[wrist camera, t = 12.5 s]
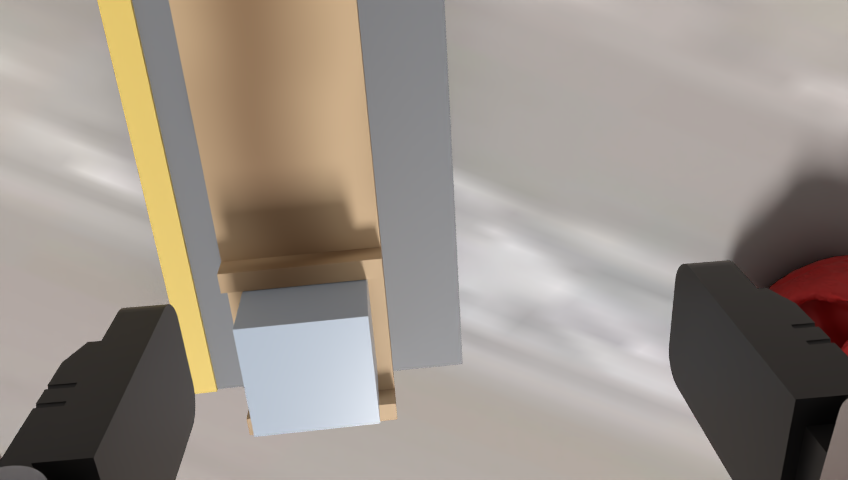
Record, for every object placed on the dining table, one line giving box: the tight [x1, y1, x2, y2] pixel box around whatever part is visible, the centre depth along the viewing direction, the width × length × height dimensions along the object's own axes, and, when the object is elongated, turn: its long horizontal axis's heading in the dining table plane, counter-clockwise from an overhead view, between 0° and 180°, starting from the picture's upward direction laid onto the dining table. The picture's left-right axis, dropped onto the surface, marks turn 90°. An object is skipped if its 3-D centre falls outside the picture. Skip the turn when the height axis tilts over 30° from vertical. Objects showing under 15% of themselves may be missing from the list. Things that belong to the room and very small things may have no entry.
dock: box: [97, 0, 462, 394], centre depth 31 cm, size 13×33×3 cm, turn 4°
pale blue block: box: [233, 279, 380, 437], centre depth 29 cm, size 5×5×4 cm
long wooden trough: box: [169, 0, 397, 435], centre depth 27 cm, size 6×30×6 cm, turn 4°
